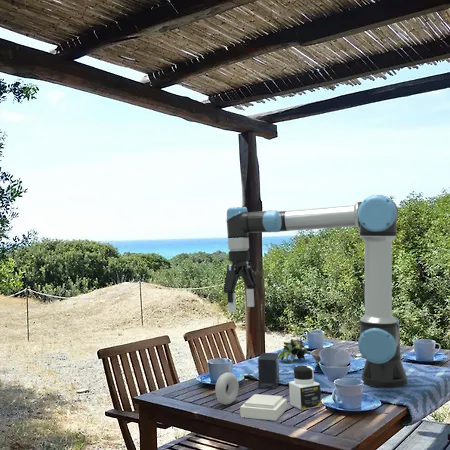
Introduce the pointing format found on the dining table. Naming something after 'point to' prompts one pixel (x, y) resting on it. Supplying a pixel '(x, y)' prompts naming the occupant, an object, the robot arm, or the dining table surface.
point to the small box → (268, 370)
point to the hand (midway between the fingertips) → (241, 309)
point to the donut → (232, 389)
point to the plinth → (264, 407)
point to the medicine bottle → (304, 389)
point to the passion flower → (293, 350)
